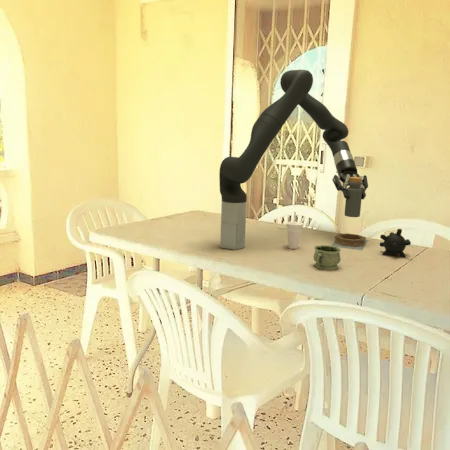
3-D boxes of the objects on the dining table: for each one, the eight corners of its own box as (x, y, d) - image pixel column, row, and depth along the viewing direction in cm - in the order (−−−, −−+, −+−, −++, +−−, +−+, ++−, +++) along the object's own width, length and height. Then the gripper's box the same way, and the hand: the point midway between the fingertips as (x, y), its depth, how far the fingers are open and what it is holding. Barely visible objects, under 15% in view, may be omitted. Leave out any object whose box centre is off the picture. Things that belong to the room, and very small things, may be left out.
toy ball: (390, 241, 180) (420, 239, 171) (382, 264, 175) (413, 264, 166) (377, 224, 175) (407, 221, 166) (368, 247, 170) (399, 246, 161)
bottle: (358, 214, 187) (361, 176, 184) (361, 217, 181) (364, 178, 178) (343, 214, 188) (346, 176, 184) (345, 216, 182) (349, 178, 179)
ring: (362, 248, 180) (362, 241, 179) (333, 244, 184) (333, 238, 183) (366, 241, 189) (366, 235, 189) (338, 238, 194) (339, 232, 193)
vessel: (324, 260, 163) (325, 242, 162) (347, 265, 158) (348, 247, 156) (304, 267, 155) (306, 248, 153) (328, 273, 149) (330, 254, 148)
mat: (362, 251, 176) (362, 250, 176) (330, 247, 181) (330, 246, 181) (368, 241, 192) (368, 240, 192) (338, 237, 197) (338, 236, 197)
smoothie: (282, 248, 176) (284, 212, 173) (288, 245, 182) (290, 209, 179) (298, 251, 173) (301, 214, 170) (304, 247, 179) (306, 211, 176)
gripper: (331, 157, 185) (342, 192, 177) (365, 158, 188) (377, 192, 180) (325, 169, 192) (334, 204, 183) (357, 170, 195) (369, 203, 186)
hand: (355, 198), depth 181 cm, fingers closed on bottle, 6 cm apart
